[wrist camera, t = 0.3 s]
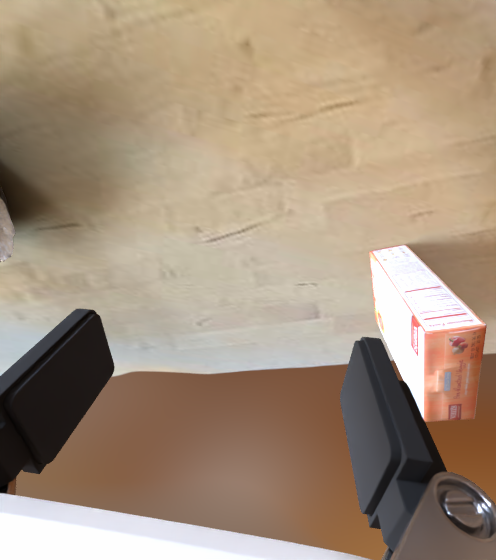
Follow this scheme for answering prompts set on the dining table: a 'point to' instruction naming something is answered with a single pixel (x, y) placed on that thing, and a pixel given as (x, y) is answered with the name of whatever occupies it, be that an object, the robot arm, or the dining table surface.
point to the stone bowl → (5, 229)
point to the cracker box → (428, 334)
